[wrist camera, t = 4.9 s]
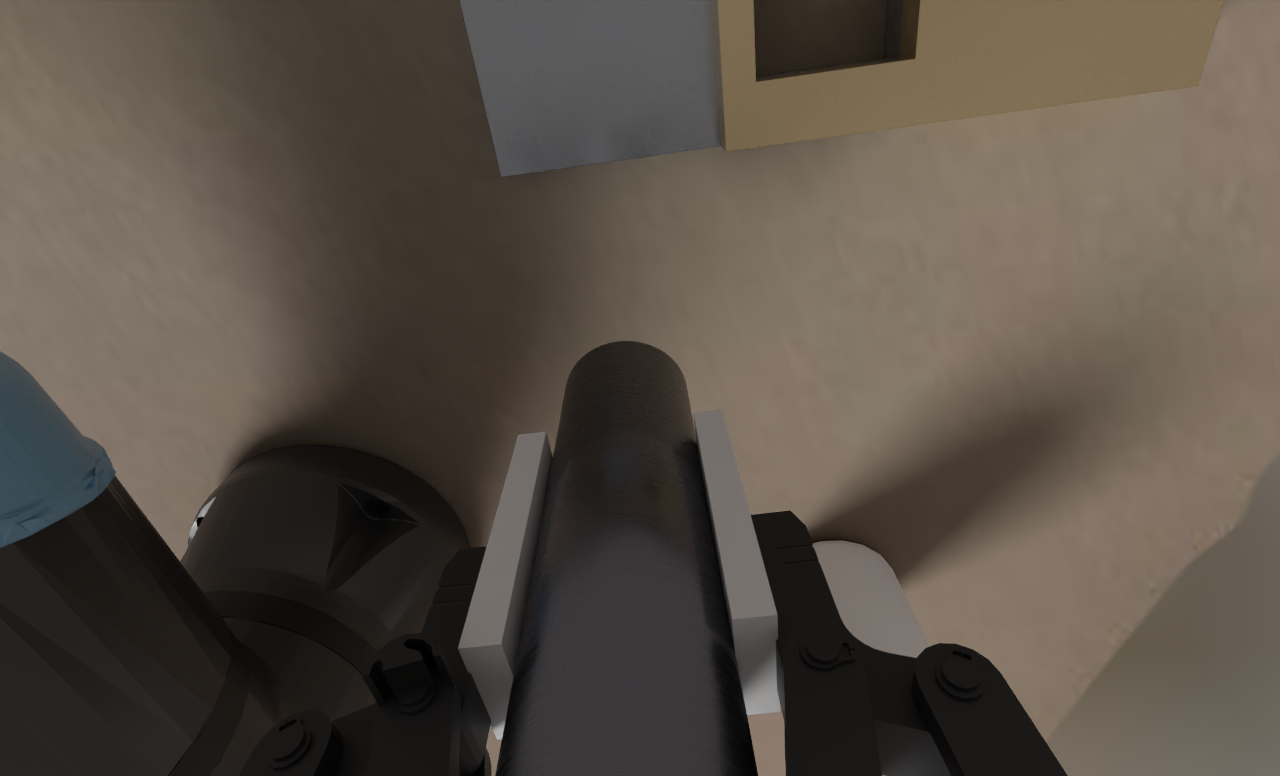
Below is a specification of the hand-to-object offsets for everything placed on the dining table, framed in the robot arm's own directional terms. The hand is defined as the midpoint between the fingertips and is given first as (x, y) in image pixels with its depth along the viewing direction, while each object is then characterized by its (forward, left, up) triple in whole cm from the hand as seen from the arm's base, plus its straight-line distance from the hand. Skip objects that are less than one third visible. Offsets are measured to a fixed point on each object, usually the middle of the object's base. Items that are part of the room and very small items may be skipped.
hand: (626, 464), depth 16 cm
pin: (0, 0, -4) cm, 4 cm away
